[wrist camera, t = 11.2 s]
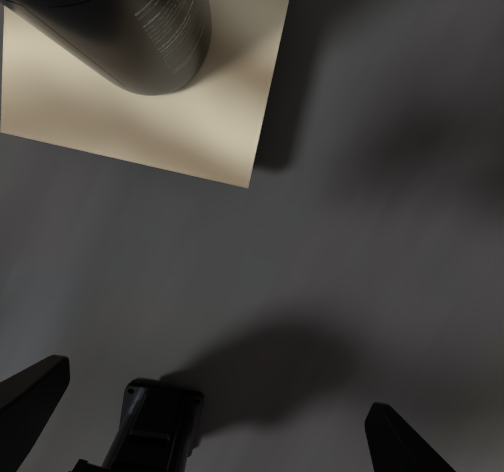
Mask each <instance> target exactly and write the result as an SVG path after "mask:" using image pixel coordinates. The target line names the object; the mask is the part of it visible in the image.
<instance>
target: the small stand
mask: <svg viewBox="0 0 504 472" xmlns="http://www.w3.org/2000/svg"><path fill="white" fill-rule="evenodd" d="M288 3H289V0H209V4H210V10H211V18H212V35H211V42H210V46H209V50H208V53H207V56H206V58H205V61H204V63H203V65H202V66H201V68H200V70H199V71H198V73H197V74H196V75H195V76H194V77H193V78H192V79H191V80H190V81H189V82H188V83H187V84H186V85H184V86H183V87H181V88H180V89H178V90H176V91H174V92H171V93H168V94H164V95H158V96H145V95H138V94H134V93H131V92H128V91H126V90H124V89H122V88H120V87H118V86H116V85H114V84H113V83H111V82H110V81H108V80H107V79H105V78H104V77H102V76H101V75H100V74H98V73H97V72H95V71H94V70H93V69H91V68H90V67H89V66H87V65H86V64H84V63H83V62H82V61H80V60H79V59H77V58H76V57H75V56H73V55H72V54H71V53H69V52H68V51H66V50H65V49H64V48H62V47H61V46H60V45H58V44H57V43H55V42H54V41H53V40H51V39H50V38H49V37H47V36H46V35H44V34H43V33H42V32H40V31H39V30H38V29H36V28H35V27H33V26H32V25H31V24H29V23H28V22H26V21H25V20H24V19H22V18H21V17H20V16H18V15H17V14H15V13H14V12H13V11H11V10H10V9H9V8H7V7H6V6H4V37H3V69H2V102H1V132H2V133H7V134H11V135H15V136H20V137H24V138H29V139H33V140H37V141H42V142H46V143H51V144H55V145H59V146H64V147H68V148H73V149H77V150H82V151H86V152H90V153H95V154H99V155H104V156H108V157H112V158H117V159H121V160H126V161H130V162H134V163H139V164H143V165H148V166H152V167H156V168H161V169H165V170H170V171H174V172H179V173H183V174H187V175H192V176H196V177H201V178H205V179H209V180H214V181H218V182H223V183H227V184H231V185H236V186H240V187H245V188H248V186H249V182H250V177H251V173H252V168H253V163H254V159H255V154H256V150H257V145H258V140H259V136H260V131H261V127H262V122H263V118H264V113H265V108H266V104H267V99H268V95H269V90H270V85H271V81H272V76H273V72H274V67H275V63H276V58H277V53H278V49H279V44H280V40H281V35H282V30H283V26H284V21H285V17H286V12H287V8H288Z"/></svg>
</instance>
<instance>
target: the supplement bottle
mask: <svg viewBox="0 0 504 472" xmlns="http://www.w3.org/2000/svg"><path fill="white" fill-rule="evenodd" d="M0 3H2V4H3V5H4V6H6V7H7V8H9V9H10V10H11V11H13V12H14V13H15V14H17V15H18V16H20V17H21V18H22V19H24V20H25V21H26V22H28V23H29V24H31V25H32V26H33V27H35V28H36V29H38V30H39V31H40V32H42V33H43V34H44V35H46V36H47V37H49V38H50V39H51V40H53V41H54V42H55V43H57V44H58V45H60V46H61V47H62V48H64V49H65V50H66V51H68V52H69V53H71V54H72V55H73V56H75V57H76V58H77V59H79V60H80V61H82V62H83V63H84V64H86V65H87V66H89V67H90V68H91V69H93V70H94V71H95V72H97V73H98V74H100V75H101V76H102V77H104V78H105V79H107V80H108V81H110V82H111V83H113V84H114V85H116V86H118V87H120V88H122V89H124V90H126V91H128V92H131V93H134V94H138V95H145V96H158V95H164V94H168V93H171V92H174V91H176V90H178V89H180V88H181V87H183V86H184V85H186V84H187V83H188V82H189V81H190V80H191V79H192V78H193V77H194V76H195V75H196V74H197V73H198V71H199V70H200V68H201V66H202V65H203V63H204V61H205V58H206V56H207V53H208V50H209V46H210V42H211V35H212V18H211V10H210V4H209V0H0Z"/></svg>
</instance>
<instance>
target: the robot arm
mask: <svg viewBox="0 0 504 472" xmlns="http://www.w3.org/2000/svg"><path fill="white" fill-rule="evenodd" d="M69 382H70V365H69V358H68V357H66V356H60V355H51V356H49V357H47V358H45V359H43V360H41V361H39V362H38V363H36V364H34V365H32V366H30V367H28V368H26V369H25V370H23V371H21V372H19V373H17V374H15V375H13V376H12V377H10V378H8V379H6V380H4V381H2V382H0V472H16V471H17V470H18V468H19V467H20V465H21V464H22V462H23V461H24V459H25V458H26V456H27V455H28V453H29V452H30V450H31V449H32V447H33V446H34V444H35V442H36V441H37V439H38V437H39V436H40V434H41V432H42V430H43V429H44V427H45V425H46V423H47V422H48V420H49V418H50V417H51V415H52V413H53V411H54V410H55V408H56V406H57V404H58V403H59V401H60V399H61V397H62V396H63V394H64V392H65V390H66V389H67V387H68V385H69ZM131 389H133V390H131ZM197 399H199V400H197ZM203 399H204V396H203V394H202V393H199V392H193V391H187V390H180V389H174V388H167V387H160V386H154V385H147V384H141V383H134V382H131V383H129V384H128V385H127V387H126V388H125V392H124V398H123V405H122V412H121V419H120V425H119V431H118V433H117V435H116V437H115V439H114V441H113V443H112V445H111V447H110V450H109V452H108V454H107V456H106V458H105V460H104V462H103V464H102V466H101V467H100V466H96V465H93V464H89V463H88V461H86V460H83V459H79V461H78V462H77V464H76V465H75V467H74V469H73V470H72V472H184V471H185V466H186V461H187V457H190V456H191V454H192V450H193V446H194V441H195V437H196V432H197V427H198V423H199V418H200V414H201V409H202V405H203ZM365 432H366V437H367V441H368V446H369V450H370V455H371V459H372V464H373V468H374V472H456V471H455V470H454V469H453V468H452V467H451V466H450V465H449V464H448V463H447V462H446V461H445V460H444V459H443V458H442V457H441V456H440V455H439V454H438V453H437V452H436V451H435V450H434V449H433V448H432V447H431V446H430V445H429V444H428V443H427V442H426V441H425V440H424V439H423V438H422V437H421V436H420V435H419V434H418V433H417V432H416V431H415V430H414V429H413V428H412V427H411V426H410V425H409V424H408V423H407V422H406V421H405V420H404V419H403V418H402V417H401V416H400V415H399V414H398V413H397V412H396V411H395V410H394V409H393V408H392V407H391V406H390V405H388V404H385V403H379V402H375V403H373V405H372V407H371V409H370V411H369V413H368V415H367V418H366V420H365ZM69 472H71V471H69Z"/></svg>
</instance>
